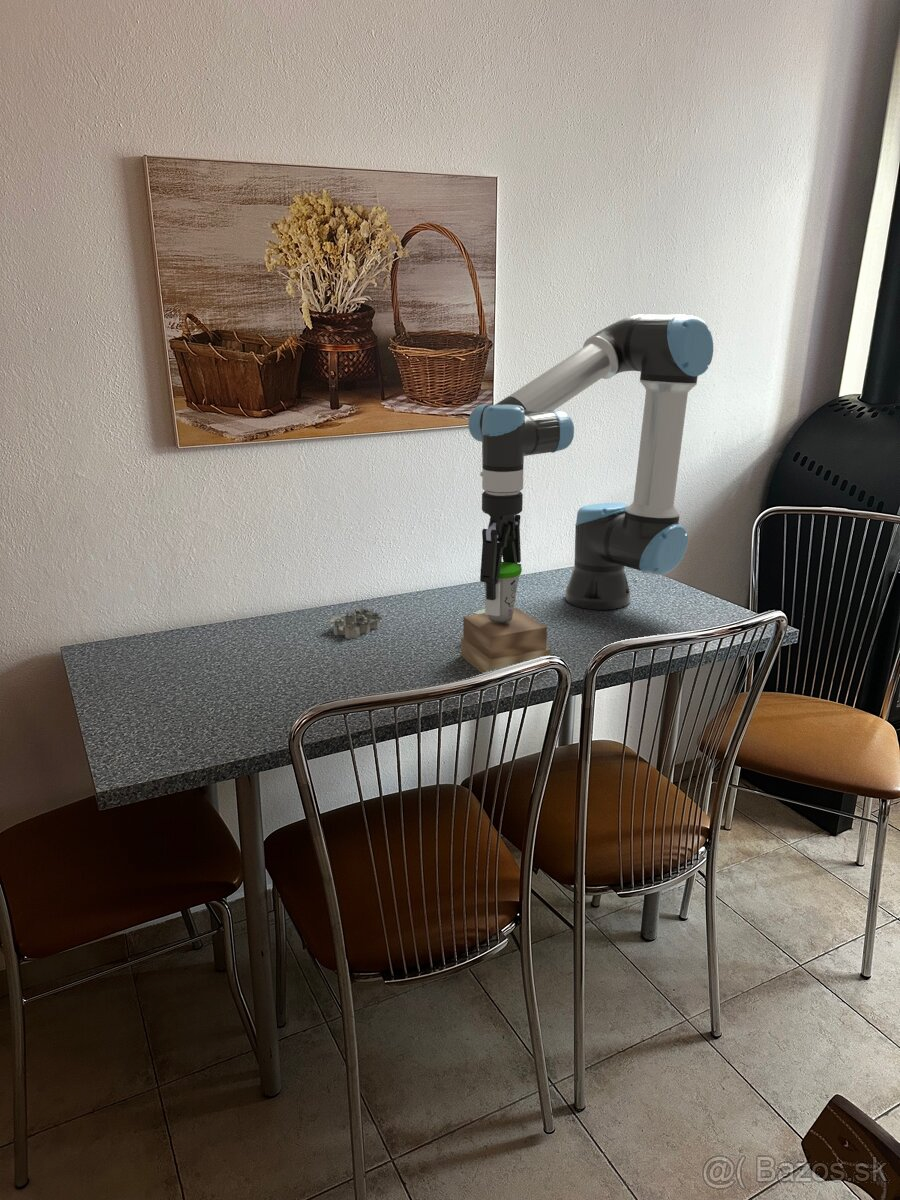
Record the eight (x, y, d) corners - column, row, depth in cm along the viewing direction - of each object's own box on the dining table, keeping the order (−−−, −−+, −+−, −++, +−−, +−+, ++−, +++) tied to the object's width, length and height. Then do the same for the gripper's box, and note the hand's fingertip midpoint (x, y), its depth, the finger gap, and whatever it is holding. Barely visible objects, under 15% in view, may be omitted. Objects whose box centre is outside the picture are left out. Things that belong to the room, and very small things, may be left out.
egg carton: (351, 642, 181) (350, 624, 180) (327, 634, 186) (325, 616, 185) (386, 627, 189) (385, 610, 188) (362, 620, 194) (361, 602, 192)
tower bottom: (517, 647, 179) (517, 627, 177) (549, 670, 167) (550, 649, 166) (460, 658, 173) (461, 637, 172) (490, 682, 162) (491, 660, 161)
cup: (509, 628, 162) (511, 551, 157) (473, 621, 165) (473, 545, 160) (527, 615, 168) (529, 541, 163) (491, 608, 172) (492, 536, 167)
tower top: (515, 628, 177) (516, 607, 175) (546, 648, 166) (547, 627, 165) (463, 637, 172) (463, 616, 170) (491, 659, 161) (491, 636, 160)
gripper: (503, 479, 169) (502, 589, 176) (461, 500, 151) (461, 622, 159) (540, 482, 166) (536, 594, 173) (500, 504, 148) (499, 628, 156)
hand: (500, 607), depth 166 cm, fingers closed on cup, 8 cm apart
